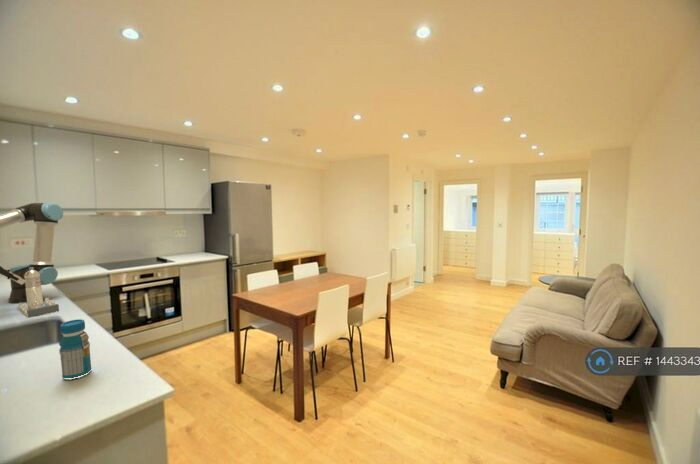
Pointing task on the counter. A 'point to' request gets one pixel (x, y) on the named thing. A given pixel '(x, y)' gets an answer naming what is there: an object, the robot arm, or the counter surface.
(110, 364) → the counter surface
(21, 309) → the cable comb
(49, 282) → the robot arm
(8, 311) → the counter surface
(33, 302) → the water bottle
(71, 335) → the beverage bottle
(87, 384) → the counter surface
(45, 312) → the block
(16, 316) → the counter surface
